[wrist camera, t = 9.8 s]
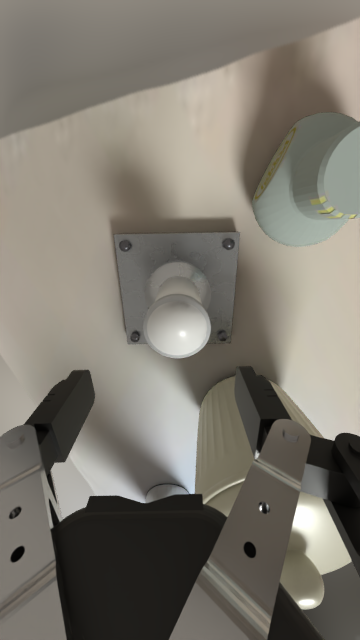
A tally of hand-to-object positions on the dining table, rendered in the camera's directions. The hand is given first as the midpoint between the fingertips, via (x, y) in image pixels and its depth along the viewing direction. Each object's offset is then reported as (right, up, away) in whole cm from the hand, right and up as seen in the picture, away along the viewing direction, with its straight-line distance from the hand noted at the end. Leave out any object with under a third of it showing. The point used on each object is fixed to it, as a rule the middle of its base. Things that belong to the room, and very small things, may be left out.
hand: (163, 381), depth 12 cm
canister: (+11, -10, +24) cm, 28 cm away
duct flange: (+1, +7, +16) cm, 18 cm away
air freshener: (+14, +17, +12) cm, 25 cm away
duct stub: (+1, +6, +14) cm, 16 cm away
